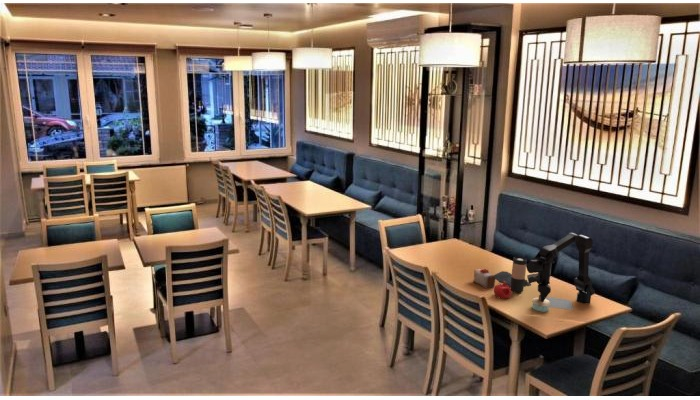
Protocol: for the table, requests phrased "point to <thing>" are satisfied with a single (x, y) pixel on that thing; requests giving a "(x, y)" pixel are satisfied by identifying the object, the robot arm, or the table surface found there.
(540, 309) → the bowl
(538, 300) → the lid
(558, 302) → the mat
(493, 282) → the food item
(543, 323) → the table surface
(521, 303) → the table surface
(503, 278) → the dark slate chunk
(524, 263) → the travel mug
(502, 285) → the pomegranate
